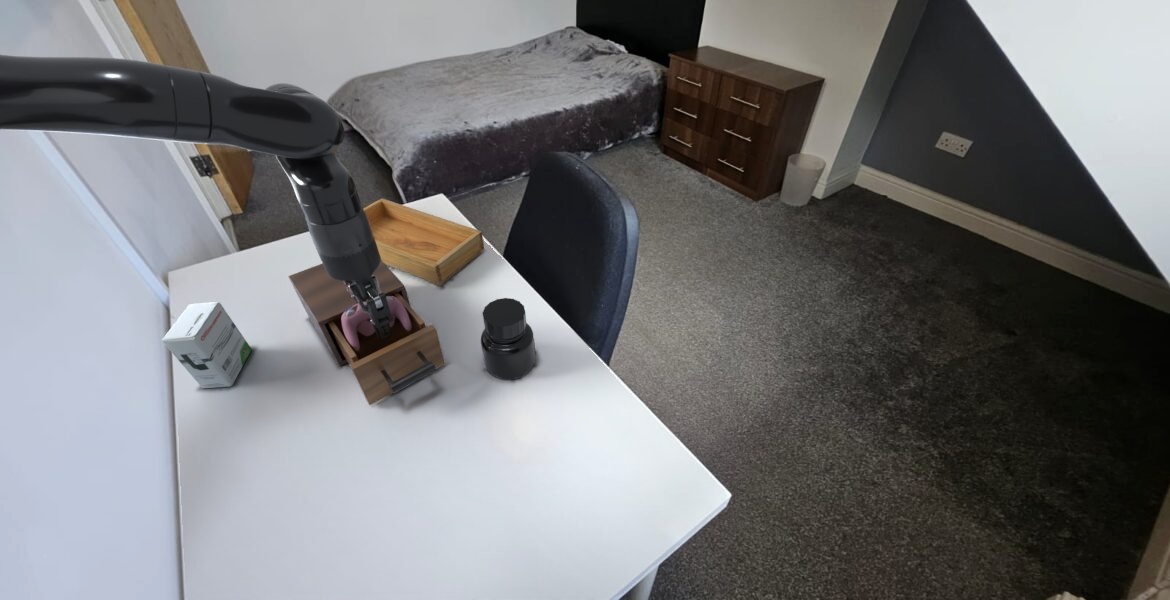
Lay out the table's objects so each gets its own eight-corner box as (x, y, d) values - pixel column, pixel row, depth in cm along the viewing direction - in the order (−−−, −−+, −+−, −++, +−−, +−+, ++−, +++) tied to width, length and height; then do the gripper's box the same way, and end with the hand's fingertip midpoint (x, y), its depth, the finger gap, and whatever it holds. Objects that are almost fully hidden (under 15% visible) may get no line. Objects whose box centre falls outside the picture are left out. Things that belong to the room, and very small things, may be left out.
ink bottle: (543, 348, 86) (540, 299, 78) (528, 385, 79) (523, 336, 71) (493, 339, 87) (485, 289, 79) (474, 374, 81) (464, 325, 73)
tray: (338, 246, 109) (329, 225, 105) (387, 216, 119) (381, 196, 115) (440, 288, 98) (435, 267, 94) (485, 252, 108) (482, 231, 104)
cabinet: (417, 328, 89) (404, 285, 82) (339, 366, 82) (317, 322, 75) (383, 287, 98) (368, 246, 91) (309, 319, 90) (287, 276, 83)
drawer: (459, 380, 79) (450, 344, 73) (382, 425, 72) (365, 389, 66) (408, 319, 89) (396, 284, 84) (336, 353, 83) (318, 317, 77)
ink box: (224, 350, 84) (188, 301, 76) (253, 349, 84) (221, 299, 76) (200, 389, 77) (158, 340, 70) (231, 387, 78) (193, 337, 70)
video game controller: (410, 325, 81) (395, 287, 79) (415, 330, 77) (400, 291, 75) (350, 348, 77) (333, 309, 75) (353, 355, 73) (335, 314, 71)
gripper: (392, 252, 63) (418, 339, 75) (352, 210, 72) (381, 294, 83) (335, 274, 60) (372, 362, 71) (299, 227, 68) (337, 312, 79)
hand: (377, 325), depth 77 cm, fingers closed on video game controller, 6 cm apart
